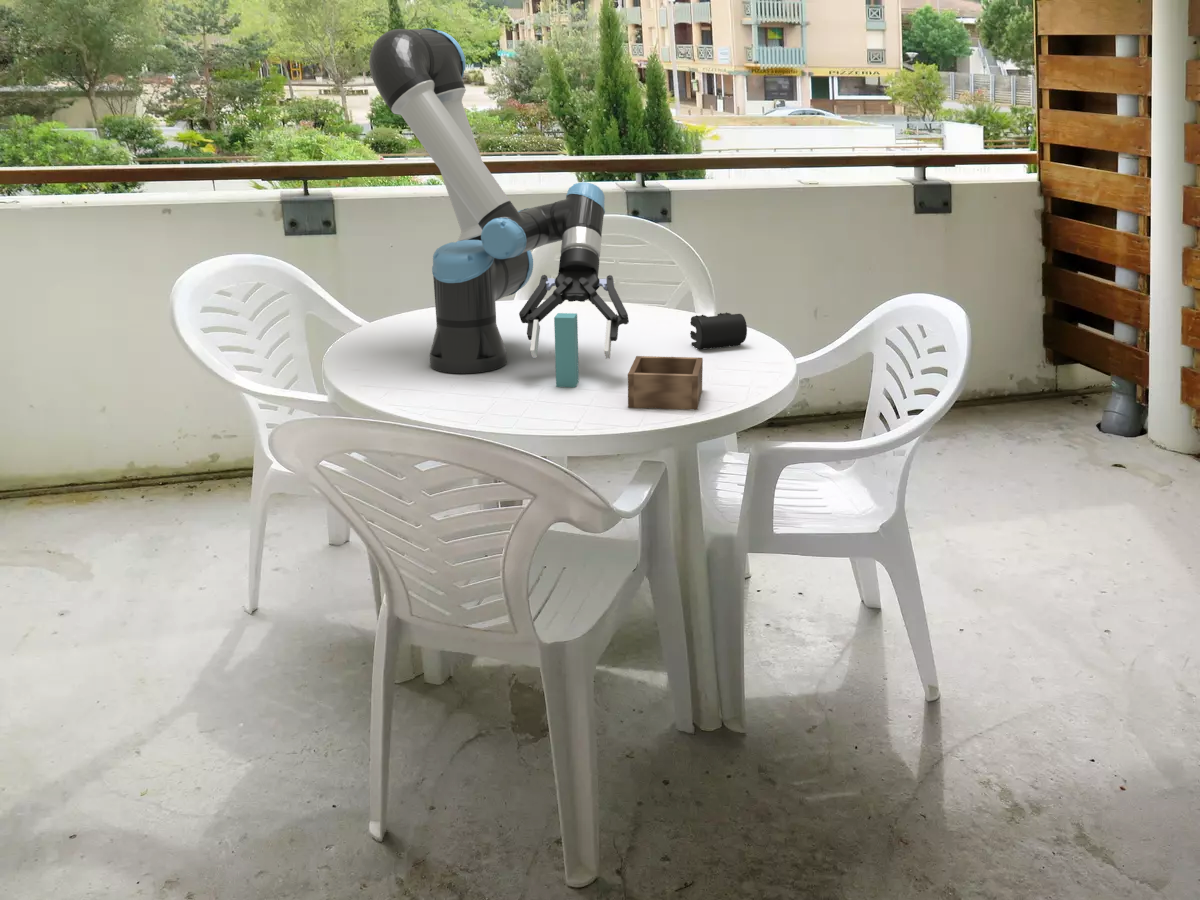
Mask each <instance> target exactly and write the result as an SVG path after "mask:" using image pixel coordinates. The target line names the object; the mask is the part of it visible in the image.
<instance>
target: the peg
mask: <svg viewBox="0 0 1200 900" xmlns="http://www.w3.org/2000/svg"><path fill="white" fill-rule="evenodd" d="M553 321H554V324H553V325H554V326H553V327H554V358H555V387H556V388H576V387H577V386H578V384H579V381H580V378H579V373H580V372H579V371H580V370H579V339H578V338H579V334H578V331H579V330H578V329H579V327H578V325H579V324H578V313H577V312H576V313H573V312H572V313H571V312H569V313H568V312H565V313H563V312H558V313H557V314H556V315H555V316H554V318H553Z"/></svg>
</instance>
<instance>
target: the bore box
mask: <svg viewBox="0 0 1200 900" xmlns="http://www.w3.org/2000/svg"><path fill="white" fill-rule="evenodd" d="M634 358H635V359H634V360H633V362H632V364H631V367H630V369H629V370H628V371H629V372H628V373H627V407H630V409H631V408H633V409H659V408H661V409H664V410H665V409H667V410H690V409H694V411H695V410H696V411H697V410H698V409H699V405H700V400H701V396H702V393H703V371H704V370H703V361H704V360H703V358H704V357H696V356H695V357H692V356H691V357H688V356H687V357H686V356H653V355H651V356H650V355H649V356H647V355H646V356H645V355H643V356H642V355H636V356H635V357H634ZM661 409H660V410H661Z"/></svg>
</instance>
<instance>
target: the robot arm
mask: <svg viewBox="0 0 1200 900" xmlns="http://www.w3.org/2000/svg"><path fill="white" fill-rule="evenodd" d="M368 61H369V70H370V71H369V72H370V76H371V78H372V81H373V84H374V85H375V87H376V89H377V92H378V93H379V96H381V98H382V100H383V101H384V102H385V104H386V105H387V107H388V108H389V110H390V111H391V113H392V114H394V115H399V116H401V117H402V118H403V120H404V121H405V123H406V125H408V128H410V130H411V132H413V134H414V135H415V137H416V138H417V139H418V141H419V143H420V144H421V146H422V147H423V148H424V150H425V151H426V153H428V155H429V156H430V158H431V159H432V161H433V162H434V164H435V165H436V167H438V169H439V172H440V174H441V177H442V179H443V183H444V186H445V188H446V191H447V194H448V197H449V200H450V202H451V205H452V209H453V211H454V214H455V217H456V219H457V222H458V225H459V228H460V234H459V236H458V239H457V241H456V242H454V241H453V242H452V241H451V242H448V243H445V244H443V245H440V246H439V247H438V248H436V250H435V251H434V252H433V255H432V267H431V271H432V273H431V274H432V277H433V292H434V304H435V305H434V306H435V307H434V308H435V318H436V319H435V320H436V329H435V332H434V336H433V338H432V343H431V348H430V351H429V367H430V368H431V369H433V368H434V369H433V370H435V369H436V371H438V370H439V371H438V372H442V371H443V372H442V373H447V372H448V373H449V374H477V373H485V372H490V371H494V370H497V369H500V368H502V367H504V366H505V365H506V364H507V363H508V355H507V349H506V346H505V343H504V341H503V339H502V335H501V333H500V330H499V328H498V324H497V309H496V308H497V307H496V305H497V304H496V302H497V301H499V300H501V299H504V298H505V297H509V296H512V295H514V294H516V293H517V292H518V291H520V290H521V289H522V288H523V287H525V285H526V284H527V283H528V282H529V280H530V278H531V276H532V274H533V270H534V257H533V253H532V251H531V250H534V249H537V248H540V247H542V246H545V245H549V244H550V245H551V244H553V243H557V242H560V241H561V245H560V246H561V247H560V256H559V262H558V273H557V276H556V277H555V278H553V277H552V278H551V277H548V275H546V274H542V275H541V276H540V280H539V283H538V284H539V285H538V286H537V287H536V289H535V290H534V291H533V293H532V294H531V295H530V296H529V298H528V300H527V301H526V302H525V304H524V305H523V306H522V308H521V310H520V311H519V313H518V314H519V315H518V316H519V319H520V322H521V323H522V324H527V327H526V328H527V329H526V335H527V339H528V340H529V341H531V342H530V349H529V350H530V355H531V357H532V358H534V359H535V358H537V356H538V347H539V342H540V341H539V340H540V339H539V338H540V332H541V325H540V322H542V320H544V319H545V318H546V316H548V315H549V314H550V313H551V312H552V311H553V310H554V309H556V307H558V306H559V305H562V304H563V303H564V302H565V301H568V302H570V303H571V302H576V301H577V302H581V303H582V302H583V303H584V302H585V301H587V300H588V301H589V302H590V304H592V305H594V306H595V308H596V309H597V310H598V311H599V312H600V314H602V315H603V317H604V318H605V319H606V327H605V328H606V329H605V336H604V337H605V339H604V349H603V351H604V356H605V359H607V360H610V359H611V351H612V350H611V349H612V348H611V347H612V342H617V340H618V335H619V327H620V325H628V324H629V316H628V311H627V310H626V307H625V306H624V304H623V302H622V300H621V298H620V296H619V294H618V292H617V290H616V288H615V281H614V276H613V275H611V274H609V275H607V276H606V278H599V272H600V271H599V270H600V269H599V268H600V258H601V249H602V233H603V227H604V226H603V225H604V217H605V213H606V210H605V202H606V201H605V199H606V198H605V194H604V191H603V189H601V188H600V187H599V186H598V185H596V184H595V183H591V182H583V181H582V182H581V181H580V182H577V183H574V184H573V185H572V186H570V187H569V188H568V190H567V193H566V196H565V199H561V200H558V201H555V202H551V203H547V204H542V205H538V206H534V207H529V208H523V209H521V210H518V209H517V208H516V207H515V206H514V204H513V202H512V201H511V200H510V198H509V197H508V195H507V194H506V193H505V191H504V189H502V186H500V184H499V183H498V182H497V180H496V179H495V176H493V174H492V173H491V171H490V170H489V168H488V167H487V165H486V164H485V163H484V162H483V159H482V156H481V153H480V150H479V148H478V145H477V142H476V139H475V136H474V133H473V132H472V127H471V125H470V122H469V119H468V117H467V113H466V111H465V108H464V107H465V106H464V105H463V97H464V96H465V93H466V91H467V90H466V86H465V83H464V80H463V78H464V73H465V71H466V56H465V53H464V51H463V49H462V47H461V45H460V44H459V42H458V41H457V40H456V39H455V38H454V37H453V36H452V35H450V34H449V33H447V32H444V31H443V30H438V29H435V28H429V27H426V28H425V27H424V28H421V29H420V28H417V29H415V28H414V29H405V28H396V29H391V30H388V31H387V32H385V33H383V34H381V36H379V37H378V38H377V39H376V40H375V42H374V43H373V45H372V48H371V51H370V54H369V60H368ZM554 286H555V289H554V290H553V292H552V294H551V295H549V297H547V298H546V299H545V300H544V298H545V297H546V295H547V293H548V291H551V289H552V287H554ZM600 287H602V288H603V290H604V291H606V292H608V295H609V296H608V297H609V298H610V300H611V302H612V304H613V307H614V308H615V310H616V312H617V313H616V312H614V310H612V308H611V307H610V306H609V305H608V304H607V303H606V301H604V300H603V298H602V297H601V296H600V295H599V294H598V292H597V290H599V288H600ZM543 300H544V301H543ZM542 301H543V302H542Z"/></svg>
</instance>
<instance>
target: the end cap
mask: <svg viewBox="0 0 1200 900" xmlns="http://www.w3.org/2000/svg"><path fill="white" fill-rule="evenodd" d="M746 321H747V320H746V318H745V316H744V315H743V314H742V313H734V314H732V313H730V312H728V311H727V312H724V313H722V312H720V313H717V315H712V316H707V315H704V314H701V315H697V314H696V315H692V316H691V318H690V326H692V327H694V328H695V330H696V331H693V330H690V333H689V334H690V338H691V339H692V340H694V341H692V342H691V344H690V345H691V346H692V347H693V346H694V347H693V348H695V349H696V348H697V350H698V349H699V351H700V350H711V349H710V348H712V349H719V348H720V347H721V348H730V347H729V346H731V347H739V346H738V345H742V343H745V341H746V339H747V335H748V326H747V322H746Z"/></svg>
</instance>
